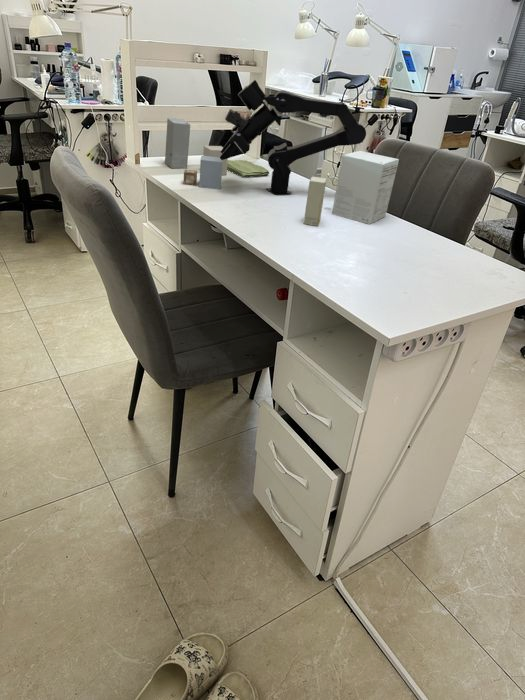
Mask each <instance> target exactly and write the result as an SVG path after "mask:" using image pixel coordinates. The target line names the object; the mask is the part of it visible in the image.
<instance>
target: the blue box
mask: <svg viewBox="0 0 525 700" xmlns="http://www.w3.org/2000/svg"><path fill="white" fill-rule="evenodd" d="M199 164H200V165H199V188H203V189H205V188H206V189H217V190H221V189H222V181H223V179H222V178H223V175H222V164H223V160H221V159H220V157H211V156H203V155H201V157H200V163H199Z"/></svg>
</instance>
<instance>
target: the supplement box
mask: <svg viewBox="0 0 525 700" xmlns="http://www.w3.org/2000/svg"><path fill="white" fill-rule="evenodd" d="M399 160H400V159H399V158H395V157H391V156H385V155H382V154H381V155H380V154H376V153H371V152H367V151H364V150H357V151H354V152H349V153H346V154H342V155H341V163H340V167H339V173H338V179H337V184H336V188H335V194H334V195H335V196H334V200H333V205H332V210H331V214H333V215H336V216H339V217H344V218H346V219H350V220H353V221H357V222H359V223H360V222H361V223H363V224H367V225H371V224H372V223H375V222H376V221H379V220H380V219H382V218H384V217H386V215H387V212H388V206H389V203H390V200H391V195H392V191H393V186H394V183H395V179H396V174H397V170H398V166H399Z"/></svg>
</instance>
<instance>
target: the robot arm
mask: <svg viewBox="0 0 525 700" xmlns="http://www.w3.org/2000/svg"><path fill="white" fill-rule="evenodd" d="M237 96H238V97H239V98H240V99H241V101H242V102H243V104H244V105H245V107H246V109H247V110H248V111H250V110H251V111H254V113H253V114H251V116H247V117H246V118H245V117H244V116H242V115H241V113H240V112H238V110H236V111H235V110H233V109H231V108H229V110H228V112H227V114H226V116H225V119H224V120H225V121H226V122H228V123H230V124H232V125H233V127H232V129H231V130H230V131H231V132H230V138H229V139H228V141H227V142H226V143H225V145H224V146H222V147H223V149H222V150H221V153H222V155H221V156H220V159H221V160H224V159H227V158H228V159H230V158H233V157H237V156H240V155H241V156H242V155H244V154H245V155H246V154H247V153H248V152H249V151H250V150H251V149H250V148H251V147H250V146H251V144H253V143H252V142H253V141H254V140H255V139H256V138H258V137H260V136H261V135H262V133H263V132H265V130H267V129H268V127H270V126H272V124H274V123H275V122H276V124H277V126H281V124H282V122H281V121H282V118H283V116H282V115H280V114H279V115H278V113H277V112H279V113H281V114H287V113H289V114H290V113H298V112H305V113H313V114H321V115H327V116H334V117H335V116H336V117H337V118H338V119H339V121H340V123H341V125H342V127H340V128H339V129H337V130H336V131H334V132H333V133H329V134H326V135H323V136H320V137H317V138H314V139H312V140H309V141H306V142H303V143H299V144H296V145H294V146H288V145H287V142H284V143H282V144H280V145H274V146H273V148H272V149H270V150H269V152H268V154H267V163H268V165H269V167H270V169H272V170H273V171H272V172H271V181H270V187H267V188H266V190H267V191H268V192H270V193H271V194H273V195H276V196H277V195H279V196H280V195H292V192H290V191H289V190H288V189H289V184H290V183H289V182H290V175H291V173H292V169H291V166H290V165H291V164H293V163H294V162H295V161H297V160H300V159H303V158H306V157H308V156H312V155H315V154H318V153H321V152H323V151H327V150H330V149H333V148H336V147H341V146H343V147H344V146H353V145H360V144H361V143H363V142H364V141H365V139H366V137H367V129H366V128H365V127H364V126H363V125H362V124H361V123H359V122H358V121H357V120H356V119H355V117H354V115H353V114H352V112H351V111H350V109H349V106H348V104H346V103H345V102H344V101H330V100H323V99H317V98H307V97H303V96H300V95H298V94H295V93H292V92H290V91H287V90H278V91H277V92H276V93H275V94H274V93H273V94H272V93H271V94H269V93H268V94H265V92H264V90H262V88H261V87H260V85H259V83H258V82H257V80H256V79H254V80H253V81H252V82H251V83H249V84H248V85H246V86H245V87H244V88H243V89H242V90H240V91H239V92H238V94H237ZM265 102H266V103H267V104H266V103H265ZM268 105H269V106H272V107H271V108H269V106H268ZM260 106H261V107H260ZM259 107H260V108H259ZM273 107H274V108H275V109H274V108H273ZM257 109H258V110H257ZM256 110H257V111H256ZM255 111H256V112H255ZM276 111H277V112H276Z"/></svg>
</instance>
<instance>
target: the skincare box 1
mask: <svg viewBox="0 0 525 700" xmlns="http://www.w3.org/2000/svg"><path fill="white" fill-rule="evenodd" d="M166 121H167V123H166V136H165V152H164V153H165V155H164V162H165V164H166V165H167V166H168V167H169V168H170V169H179V170H180V169H183V170H188V159H189V147H190V134H191V124H190V123H189V122H188V121H187V120H185V119H182V118H173V117H167V120H166Z"/></svg>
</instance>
